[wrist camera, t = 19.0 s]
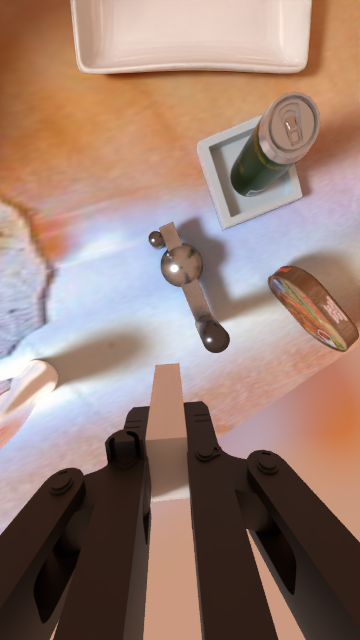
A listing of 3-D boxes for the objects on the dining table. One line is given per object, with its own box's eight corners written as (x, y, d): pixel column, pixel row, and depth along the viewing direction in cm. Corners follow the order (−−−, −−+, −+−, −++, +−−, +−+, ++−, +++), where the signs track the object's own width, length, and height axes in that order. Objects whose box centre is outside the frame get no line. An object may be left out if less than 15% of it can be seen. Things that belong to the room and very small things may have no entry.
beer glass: (65, 364, 37) (-1, 426, 23) (55, 401, 39) (-14, 481, 24) (22, 351, 37) (-76, 406, 22) (13, 389, 38) (-85, 464, 23)
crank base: (149, 239, 34) (145, 234, 29) (187, 224, 34) (190, 216, 29) (194, 352, 38) (197, 364, 33) (228, 338, 38) (237, 349, 33)
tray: (196, 150, 32) (198, 141, 29) (272, 118, 31) (280, 106, 29) (222, 230, 34) (226, 227, 32) (293, 201, 34) (302, 196, 31)
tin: (259, 277, 36) (285, 279, 28) (274, 262, 35) (306, 260, 27) (315, 342, 39) (355, 363, 30) (330, 330, 38) (375, 346, 30)
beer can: (271, 189, 32) (329, 145, 21) (236, 204, 33) (272, 169, 21) (260, 149, 31) (314, 77, 20) (223, 165, 32) (254, 103, 20)
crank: (149, 233, 31) (141, 221, 23) (183, 219, 31) (188, 200, 23) (193, 338, 35) (200, 360, 26) (224, 325, 35) (241, 343, 26)
